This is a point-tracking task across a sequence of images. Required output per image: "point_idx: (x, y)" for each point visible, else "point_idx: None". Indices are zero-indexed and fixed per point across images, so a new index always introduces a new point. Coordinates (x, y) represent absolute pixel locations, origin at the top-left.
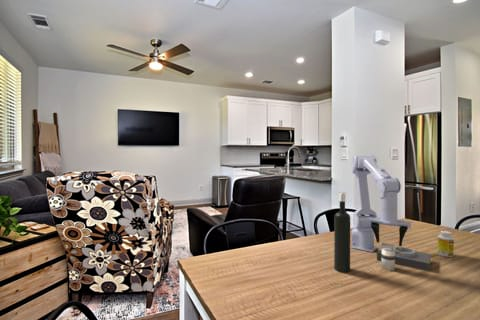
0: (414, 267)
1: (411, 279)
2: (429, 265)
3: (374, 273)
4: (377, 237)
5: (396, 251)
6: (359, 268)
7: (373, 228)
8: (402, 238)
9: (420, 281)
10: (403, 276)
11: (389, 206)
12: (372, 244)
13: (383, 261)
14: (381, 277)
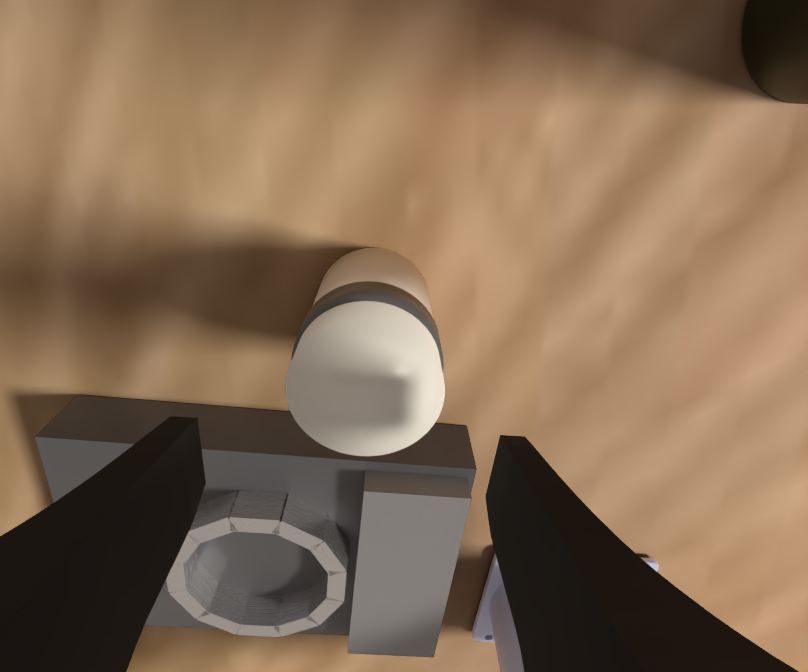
0: (183, 406)
1: (160, 135)
2: (47, 425)
3: (489, 91)
4: (542, 490)
5: (310, 530)
6: (630, 147)
7: (745, 660)
8: (46, 509)
9: (83, 130)
10: (233, 171)
11: None
12: (508, 624)
13: (413, 288)
14: (421, 12)
